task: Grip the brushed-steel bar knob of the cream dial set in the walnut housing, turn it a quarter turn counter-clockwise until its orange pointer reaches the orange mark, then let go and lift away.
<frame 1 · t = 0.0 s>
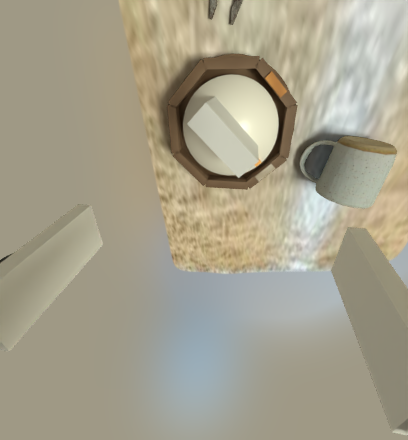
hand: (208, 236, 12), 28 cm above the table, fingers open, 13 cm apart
ceramic mug: (335, 162, 36), on the table
dial: (226, 135, 31), point 6 cm above the table, hinge at 0.0°
dial housing: (230, 126, 36), on the table
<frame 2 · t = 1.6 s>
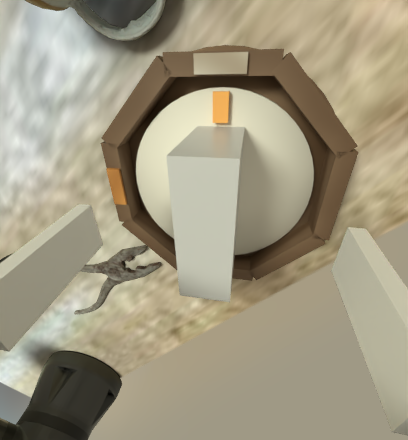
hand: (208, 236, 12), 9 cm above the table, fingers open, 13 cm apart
dial: (213, 205, 16), point 6 cm above the table, hinge at 0.0°
dial housing: (222, 175, 20), on the table
pliers: (91, 268, 31), on the table
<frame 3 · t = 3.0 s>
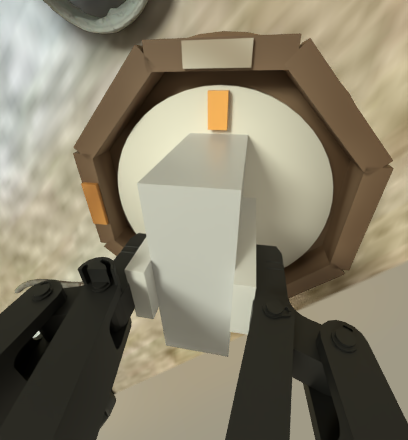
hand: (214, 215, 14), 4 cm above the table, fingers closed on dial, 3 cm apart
dial: (209, 232, 13), point 6 cm above the table, hinge at 0.0°, touching gripper
dial housing: (221, 189, 17), on the table
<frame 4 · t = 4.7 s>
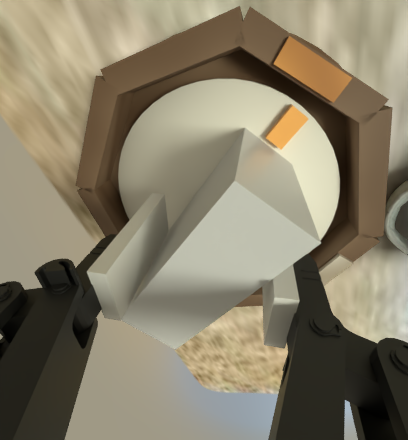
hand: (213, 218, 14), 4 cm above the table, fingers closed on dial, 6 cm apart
dial: (212, 231, 12), point 6 cm above the table, hinge at 83.7°, touching gripper
dial housing: (224, 187, 17), on the table
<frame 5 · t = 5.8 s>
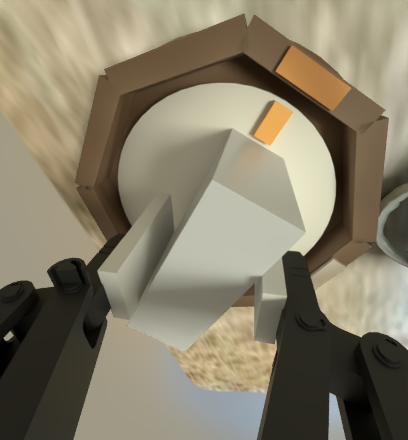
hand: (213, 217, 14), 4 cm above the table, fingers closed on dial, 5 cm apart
dial: (210, 232, 13), point 6 cm above the table, hinge at 91.9°, touching gripper
dial housing: (222, 188, 17), on the table
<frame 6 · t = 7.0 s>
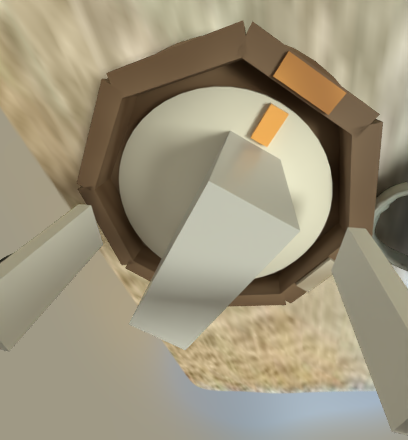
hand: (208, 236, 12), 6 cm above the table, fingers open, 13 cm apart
dial: (209, 232, 13), point 6 cm above the table, hinge at 92.9°
dial housing: (222, 189, 17), on the table
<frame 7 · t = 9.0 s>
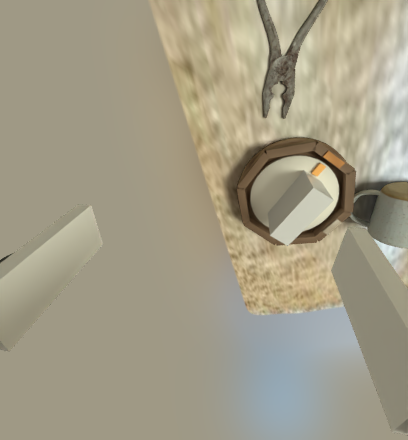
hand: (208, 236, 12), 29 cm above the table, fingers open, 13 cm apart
ceramic mug: (381, 204, 39), on the table
dial: (295, 206, 36), point 6 cm above the table, hinge at 92.9°
dial housing: (290, 191, 40), on the table
pliers: (297, 32, 30), on the table
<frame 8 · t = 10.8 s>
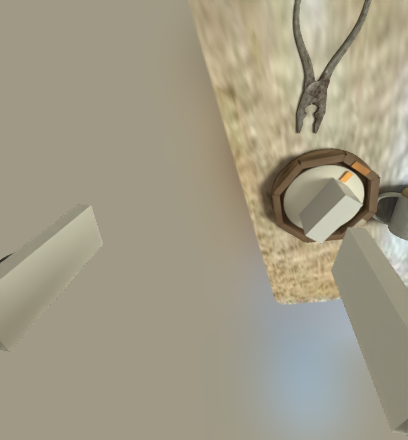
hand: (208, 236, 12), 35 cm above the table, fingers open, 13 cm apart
ceramic mug: (400, 204, 44), on the table
dial: (326, 209, 41), point 6 cm above the table, hinge at 92.9°
dial housing: (319, 195, 46), on the table
pliers: (328, 61, 35), on the table
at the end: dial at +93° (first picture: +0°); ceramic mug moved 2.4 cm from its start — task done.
